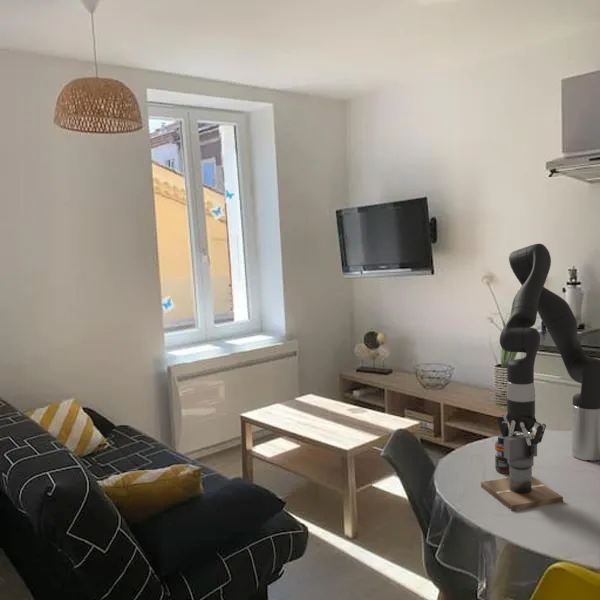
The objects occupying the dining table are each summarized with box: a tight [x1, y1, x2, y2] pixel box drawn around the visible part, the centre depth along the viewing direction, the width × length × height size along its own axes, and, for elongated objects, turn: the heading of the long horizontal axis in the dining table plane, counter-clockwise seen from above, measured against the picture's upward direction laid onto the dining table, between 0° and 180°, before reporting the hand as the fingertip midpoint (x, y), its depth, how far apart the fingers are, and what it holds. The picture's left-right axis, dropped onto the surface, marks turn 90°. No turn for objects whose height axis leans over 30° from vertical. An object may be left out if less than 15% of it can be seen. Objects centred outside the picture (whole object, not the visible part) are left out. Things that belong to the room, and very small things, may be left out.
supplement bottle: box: [494, 433, 510, 474], centre depth 190 cm, size 6×6×11 cm
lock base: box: [480, 465, 564, 511], centre depth 173 cm, size 16×16×9 cm
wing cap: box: [504, 432, 538, 468], centre depth 172 cm, size 9×7×8 cm
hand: (521, 454), depth 172 cm, fingers closed on wing cap, 4 cm apart
